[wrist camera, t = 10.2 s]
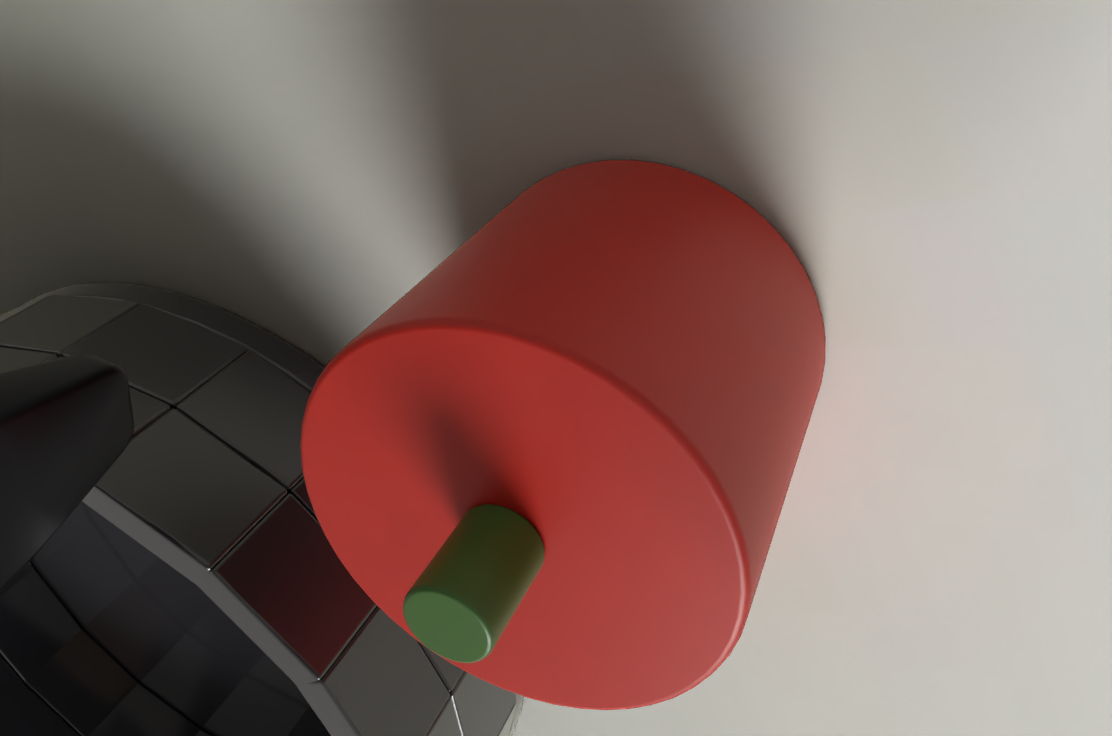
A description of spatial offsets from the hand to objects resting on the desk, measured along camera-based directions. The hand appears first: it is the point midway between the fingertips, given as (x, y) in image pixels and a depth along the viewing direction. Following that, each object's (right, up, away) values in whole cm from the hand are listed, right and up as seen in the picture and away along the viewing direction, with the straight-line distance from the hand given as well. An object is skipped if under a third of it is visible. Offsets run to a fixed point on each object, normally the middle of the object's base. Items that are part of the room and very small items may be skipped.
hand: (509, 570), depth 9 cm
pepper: (+2, +2, +3) cm, 5 cm away
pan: (-6, -2, +10) cm, 12 cm away
